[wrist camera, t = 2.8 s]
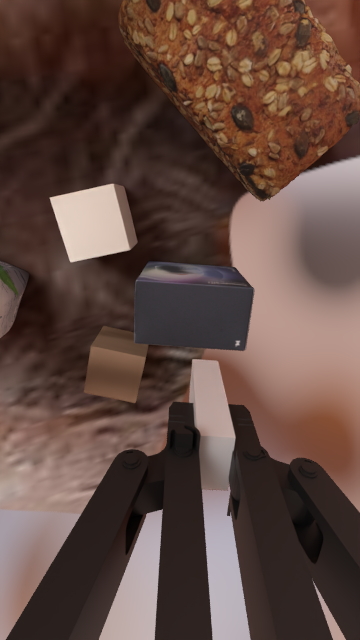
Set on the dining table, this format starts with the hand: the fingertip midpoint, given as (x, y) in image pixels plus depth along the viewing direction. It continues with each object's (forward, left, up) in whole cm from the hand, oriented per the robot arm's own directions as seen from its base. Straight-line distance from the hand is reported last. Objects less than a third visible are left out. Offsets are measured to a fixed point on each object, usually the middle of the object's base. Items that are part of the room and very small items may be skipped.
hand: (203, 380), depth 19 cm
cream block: (-7, -10, -21) cm, 24 cm away
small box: (0, 0, -21) cm, 21 cm away
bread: (-20, +2, -21) cm, 29 cm away
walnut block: (+9, -8, -21) cm, 24 cm away
